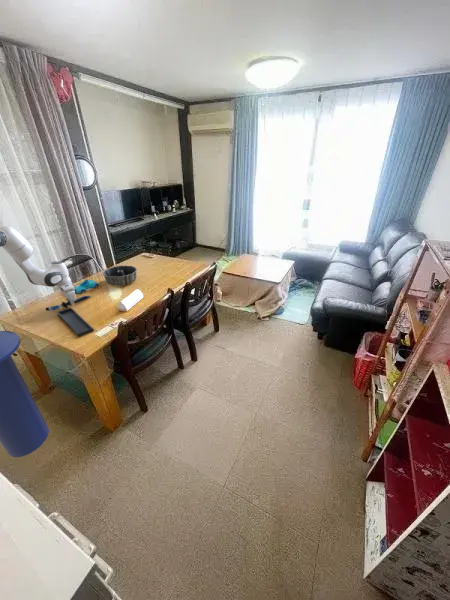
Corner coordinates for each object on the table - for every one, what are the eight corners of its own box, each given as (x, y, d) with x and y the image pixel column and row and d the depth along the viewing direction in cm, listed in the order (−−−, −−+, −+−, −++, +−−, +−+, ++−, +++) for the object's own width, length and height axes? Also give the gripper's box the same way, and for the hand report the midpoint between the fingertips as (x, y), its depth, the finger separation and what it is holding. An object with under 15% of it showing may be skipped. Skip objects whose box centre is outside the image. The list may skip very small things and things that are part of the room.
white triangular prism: (127, 308, 166) (146, 292, 186) (117, 302, 166) (138, 287, 186) (124, 316, 170) (143, 299, 190) (114, 310, 169) (135, 294, 190)
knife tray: (78, 337, 145) (77, 334, 144) (58, 314, 166) (57, 312, 165) (93, 331, 151) (92, 328, 150) (71, 310, 172) (70, 307, 171)
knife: (47, 314, 164) (46, 308, 162) (45, 313, 166) (43, 306, 164) (93, 300, 188) (92, 294, 186) (90, 299, 189) (90, 293, 187)
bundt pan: (122, 273, 228) (120, 263, 223) (145, 278, 218) (143, 267, 213) (98, 284, 207) (95, 273, 202) (122, 291, 197) (119, 279, 192)
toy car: (100, 285, 206) (98, 278, 202) (79, 294, 192) (77, 286, 188) (91, 283, 210) (89, 275, 207) (70, 291, 196) (68, 283, 193)
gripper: (54, 281, 173) (60, 299, 180) (64, 290, 161) (70, 309, 168) (64, 278, 177) (70, 296, 184) (75, 287, 165) (81, 306, 172)
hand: (70, 302), depth 176 cm, fingers open, 8 cm apart
